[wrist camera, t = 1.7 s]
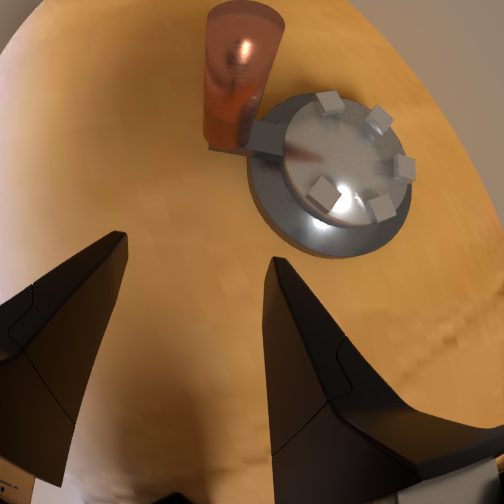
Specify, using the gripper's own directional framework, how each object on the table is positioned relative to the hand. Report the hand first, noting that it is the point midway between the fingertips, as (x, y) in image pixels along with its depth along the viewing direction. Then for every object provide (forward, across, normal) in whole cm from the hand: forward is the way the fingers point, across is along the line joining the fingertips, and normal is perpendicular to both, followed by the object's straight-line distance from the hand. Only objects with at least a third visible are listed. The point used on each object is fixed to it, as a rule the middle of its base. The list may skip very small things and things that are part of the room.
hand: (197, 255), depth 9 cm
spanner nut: (+15, -6, +1) cm, 16 cm away
